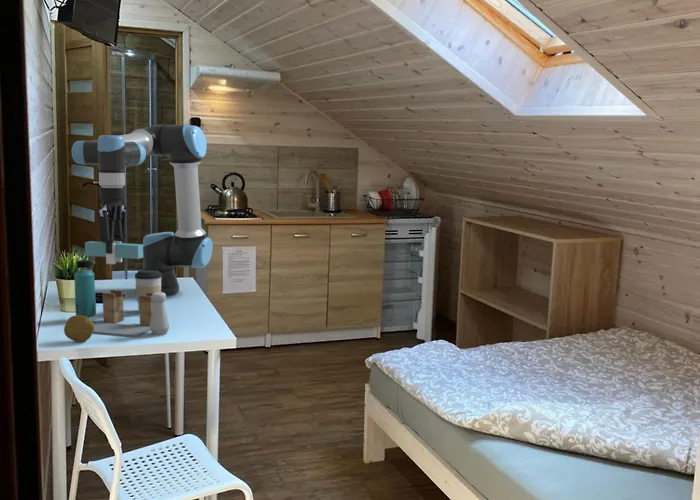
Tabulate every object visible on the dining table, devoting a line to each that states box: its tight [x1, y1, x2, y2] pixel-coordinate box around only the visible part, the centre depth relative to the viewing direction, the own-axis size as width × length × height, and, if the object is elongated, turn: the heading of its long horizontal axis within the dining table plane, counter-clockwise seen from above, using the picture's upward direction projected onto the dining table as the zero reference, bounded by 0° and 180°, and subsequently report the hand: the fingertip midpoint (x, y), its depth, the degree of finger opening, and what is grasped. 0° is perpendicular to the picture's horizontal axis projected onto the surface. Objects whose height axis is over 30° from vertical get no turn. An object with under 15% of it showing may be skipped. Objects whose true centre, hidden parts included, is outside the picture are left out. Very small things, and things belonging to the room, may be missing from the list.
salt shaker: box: [150, 292, 170, 337], centre depth 217 cm, size 6×6×13 cm
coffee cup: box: [134, 268, 162, 314], centre depth 243 cm, size 9×9×15 cm
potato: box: [63, 314, 94, 343], centre depth 208 cm, size 7×8×8 cm
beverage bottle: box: [73, 259, 97, 319], centre depth 230 cm, size 6×7×20 cm
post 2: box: [139, 293, 154, 327], centre depth 227 cm, size 5×4×10 cm
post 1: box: [102, 289, 125, 324], centre depth 230 cm, size 5×4×10 cm
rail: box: [84, 240, 143, 260], centre depth 217 cm, size 3×18×4 cm, turn 77°
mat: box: [92, 321, 151, 338], centre depth 221 cm, size 10×20×1 cm, turn 77°
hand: (114, 262), depth 217 cm, fingers closed on rail, 3 cm apart
